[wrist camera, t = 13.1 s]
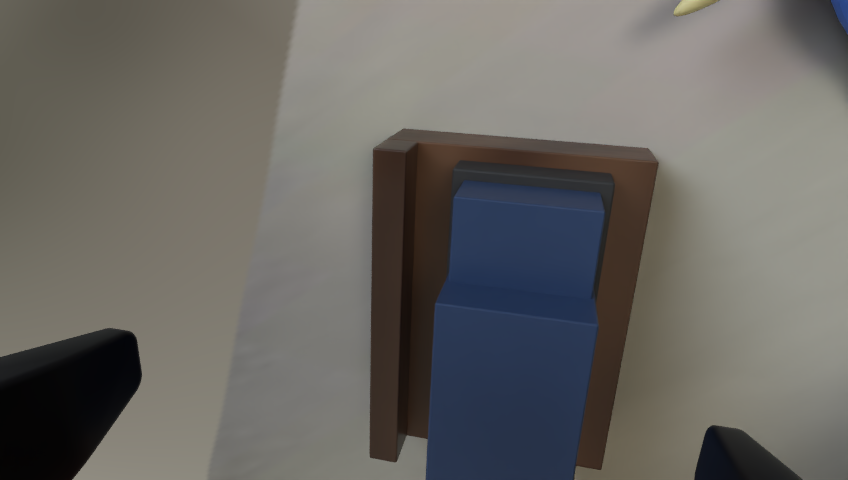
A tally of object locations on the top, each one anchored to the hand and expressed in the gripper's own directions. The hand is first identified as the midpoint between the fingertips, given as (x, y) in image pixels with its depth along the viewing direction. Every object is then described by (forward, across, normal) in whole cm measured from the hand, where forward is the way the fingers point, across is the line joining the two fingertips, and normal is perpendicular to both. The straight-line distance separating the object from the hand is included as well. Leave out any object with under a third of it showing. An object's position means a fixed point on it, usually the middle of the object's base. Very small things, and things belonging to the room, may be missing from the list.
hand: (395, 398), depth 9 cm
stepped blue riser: (+10, -2, +3) cm, 11 cm away
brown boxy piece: (+12, -1, +4) cm, 13 cm away
